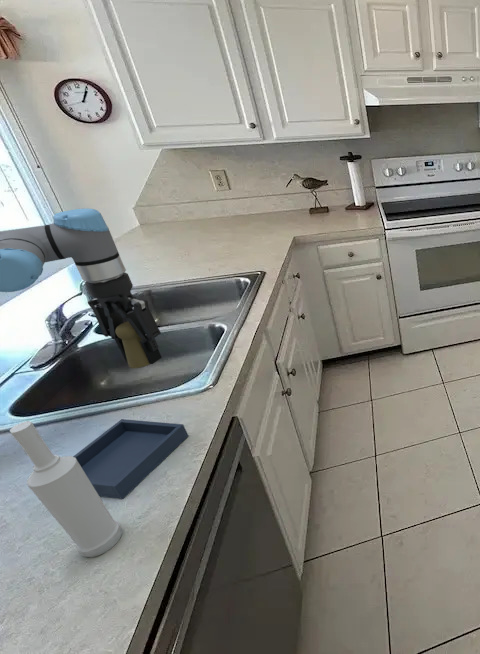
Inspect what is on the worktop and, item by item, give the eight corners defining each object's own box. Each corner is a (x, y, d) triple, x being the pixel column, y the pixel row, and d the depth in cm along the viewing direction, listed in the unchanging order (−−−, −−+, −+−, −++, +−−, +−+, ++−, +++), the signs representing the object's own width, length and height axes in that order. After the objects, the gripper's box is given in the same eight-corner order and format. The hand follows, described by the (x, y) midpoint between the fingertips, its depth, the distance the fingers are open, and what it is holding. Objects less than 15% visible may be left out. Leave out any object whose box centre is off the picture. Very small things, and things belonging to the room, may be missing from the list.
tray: (53, 491, 75) (44, 478, 74) (128, 430, 88) (121, 418, 87) (122, 499, 73) (114, 486, 72) (188, 435, 86) (183, 424, 85)
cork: (128, 360, 104) (110, 322, 99) (158, 351, 108) (142, 314, 103) (128, 371, 100) (110, 332, 95) (159, 361, 103) (143, 324, 99)
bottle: (78, 566, 63) (-14, 448, 52) (84, 539, 67) (-2, 424, 56) (122, 545, 66) (42, 429, 55) (124, 520, 69) (51, 407, 59)
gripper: (157, 271, 96) (189, 353, 106) (87, 268, 99) (125, 349, 108) (126, 285, 89) (164, 371, 99) (52, 281, 92) (96, 366, 101)
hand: (144, 359), depth 104 cm, fingers closed on cork, 6 cm apart
